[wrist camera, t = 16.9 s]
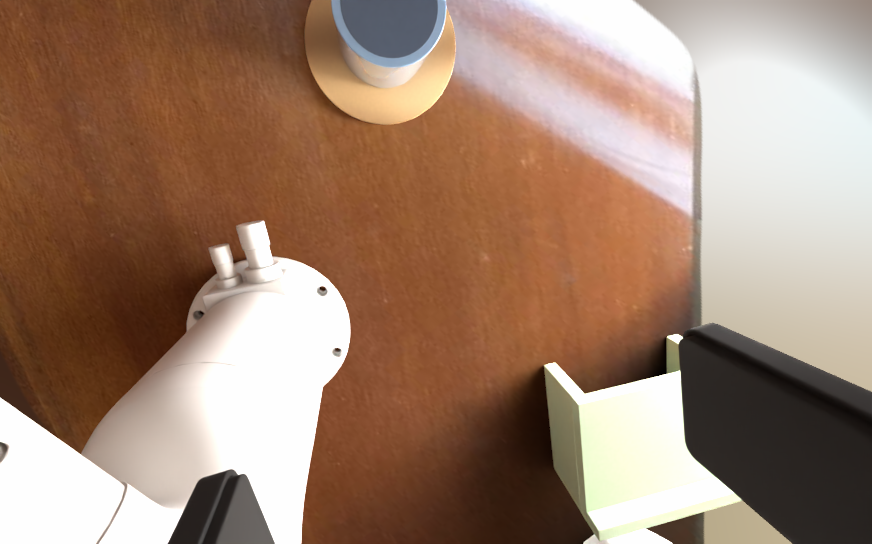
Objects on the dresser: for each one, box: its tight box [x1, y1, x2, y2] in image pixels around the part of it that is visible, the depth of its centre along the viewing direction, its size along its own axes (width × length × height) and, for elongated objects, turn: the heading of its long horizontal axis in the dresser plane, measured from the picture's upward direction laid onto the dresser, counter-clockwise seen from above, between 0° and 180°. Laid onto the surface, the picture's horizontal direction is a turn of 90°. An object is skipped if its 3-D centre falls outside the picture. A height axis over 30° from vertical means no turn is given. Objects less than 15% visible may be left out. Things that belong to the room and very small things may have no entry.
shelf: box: [544, 334, 743, 541], centre depth 40 cm, size 12×14×9 cm
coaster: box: [304, 0, 456, 125], centre depth 32 cm, size 11×11×1 cm
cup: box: [331, 0, 446, 88], centre depth 28 cm, size 6×6×8 cm
